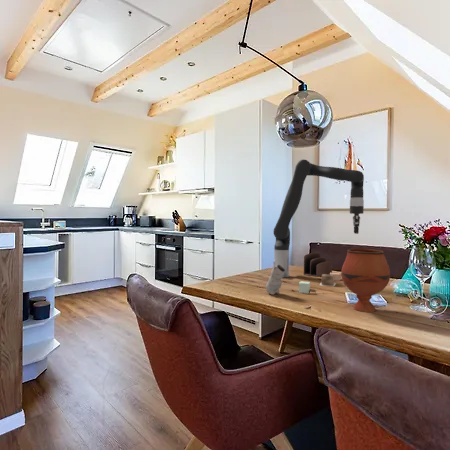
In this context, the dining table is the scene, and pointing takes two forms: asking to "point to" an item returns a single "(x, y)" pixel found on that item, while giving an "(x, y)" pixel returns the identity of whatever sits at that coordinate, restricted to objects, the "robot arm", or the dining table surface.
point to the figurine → (275, 280)
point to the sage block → (304, 287)
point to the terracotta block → (336, 276)
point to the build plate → (327, 285)
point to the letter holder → (316, 265)
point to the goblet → (365, 275)
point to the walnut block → (327, 279)
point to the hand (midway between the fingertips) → (356, 233)
